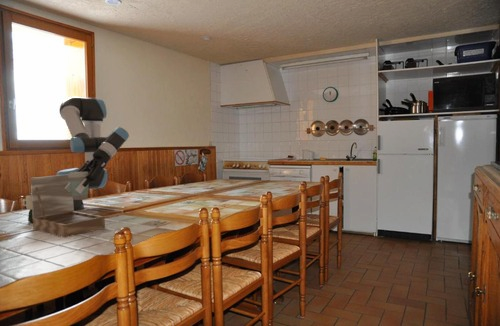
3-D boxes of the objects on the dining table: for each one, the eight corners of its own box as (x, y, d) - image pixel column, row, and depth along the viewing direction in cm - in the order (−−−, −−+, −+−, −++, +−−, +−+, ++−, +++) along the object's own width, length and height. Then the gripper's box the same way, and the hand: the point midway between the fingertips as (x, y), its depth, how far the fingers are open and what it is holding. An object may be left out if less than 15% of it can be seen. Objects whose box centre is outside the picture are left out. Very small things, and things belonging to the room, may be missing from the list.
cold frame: (33, 229, 150) (30, 177, 149) (72, 221, 165) (70, 174, 164) (64, 237, 136) (61, 180, 135) (105, 227, 151) (102, 176, 150)
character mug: (50, 219, 169) (49, 193, 169) (44, 222, 162) (43, 196, 162) (27, 220, 168) (25, 194, 167) (20, 224, 161) (18, 197, 160)
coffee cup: (94, 198, 154) (93, 171, 153) (76, 201, 146) (75, 173, 146) (83, 196, 158) (82, 171, 157) (65, 199, 151) (64, 172, 150)
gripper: (86, 148, 165) (54, 184, 153) (111, 148, 153) (78, 187, 141) (97, 158, 170) (66, 194, 158) (122, 159, 157) (91, 198, 145)
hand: (72, 191), depth 149 cm, fingers closed on coffee cup, 8 cm apart
